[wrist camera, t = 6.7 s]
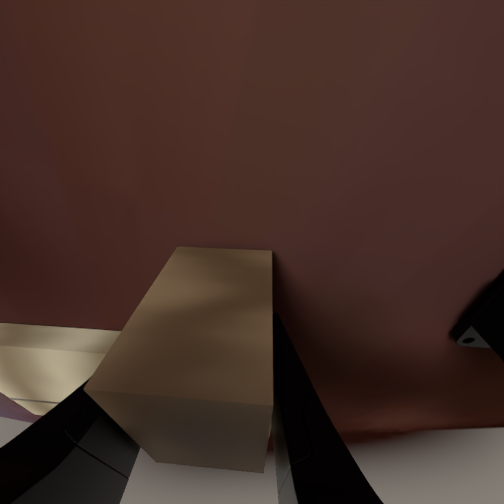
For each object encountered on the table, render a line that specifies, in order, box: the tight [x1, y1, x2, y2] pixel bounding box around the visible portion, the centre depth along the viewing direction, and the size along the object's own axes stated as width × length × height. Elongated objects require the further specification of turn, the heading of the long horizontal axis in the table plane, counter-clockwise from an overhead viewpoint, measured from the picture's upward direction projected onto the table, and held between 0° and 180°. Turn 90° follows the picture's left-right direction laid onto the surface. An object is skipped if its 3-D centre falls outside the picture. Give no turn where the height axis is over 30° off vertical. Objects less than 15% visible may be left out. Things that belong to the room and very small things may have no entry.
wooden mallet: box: [83, 247, 273, 473], centre depth 11 cm, size 4×16×6 cm, turn 0°
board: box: [0, 323, 272, 435], centre depth 16 cm, size 22×12×2 cm, turn 90°
